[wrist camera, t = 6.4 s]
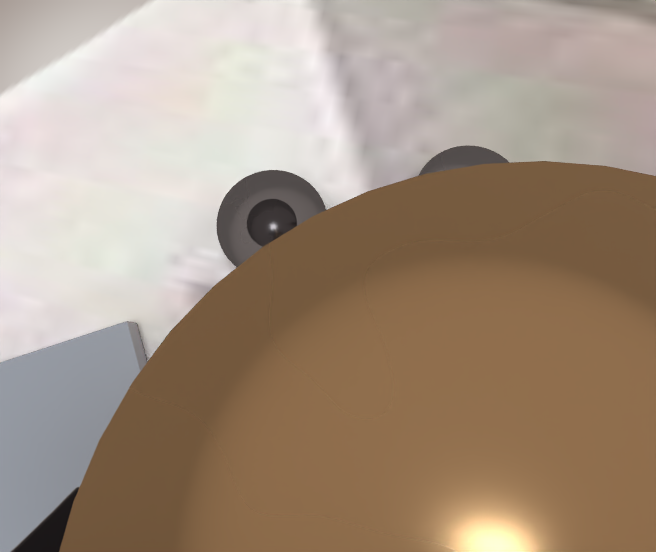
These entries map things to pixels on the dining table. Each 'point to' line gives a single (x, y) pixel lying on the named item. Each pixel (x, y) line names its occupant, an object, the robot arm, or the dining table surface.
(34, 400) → the slate pad
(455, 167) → the cylinder
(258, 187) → the spacer
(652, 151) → the dining table surface
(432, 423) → the disc
